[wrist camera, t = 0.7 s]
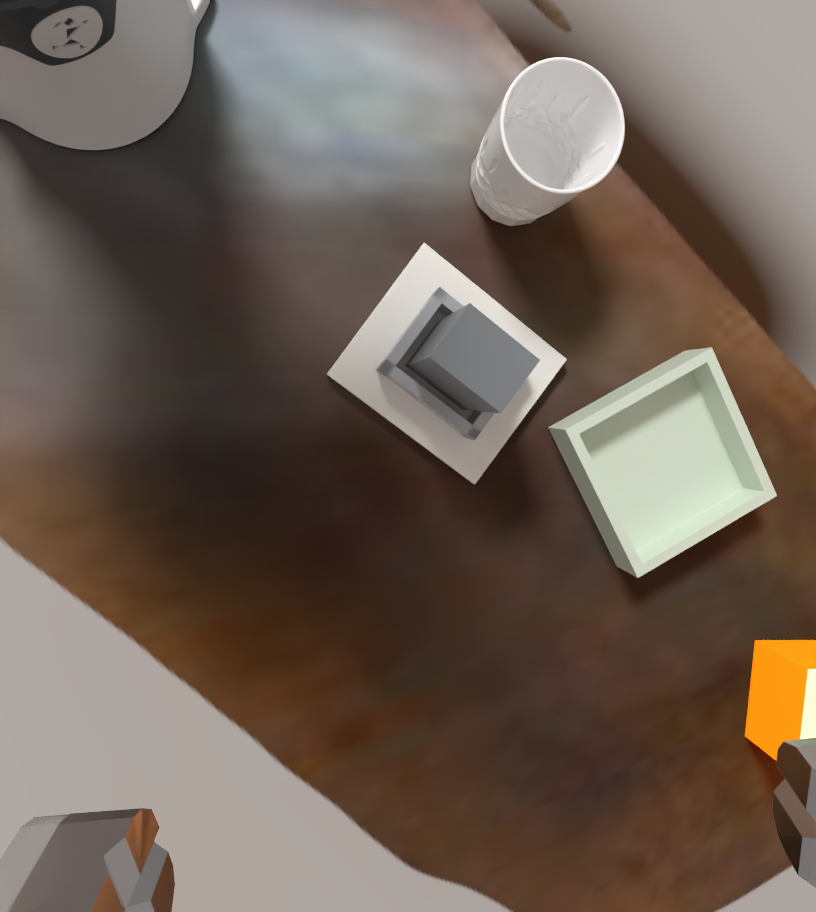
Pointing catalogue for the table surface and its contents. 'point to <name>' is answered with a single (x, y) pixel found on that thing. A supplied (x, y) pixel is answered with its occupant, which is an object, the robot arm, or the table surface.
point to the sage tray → (664, 461)
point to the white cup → (547, 141)
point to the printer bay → (409, 396)
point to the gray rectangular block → (473, 361)
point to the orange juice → (782, 693)
